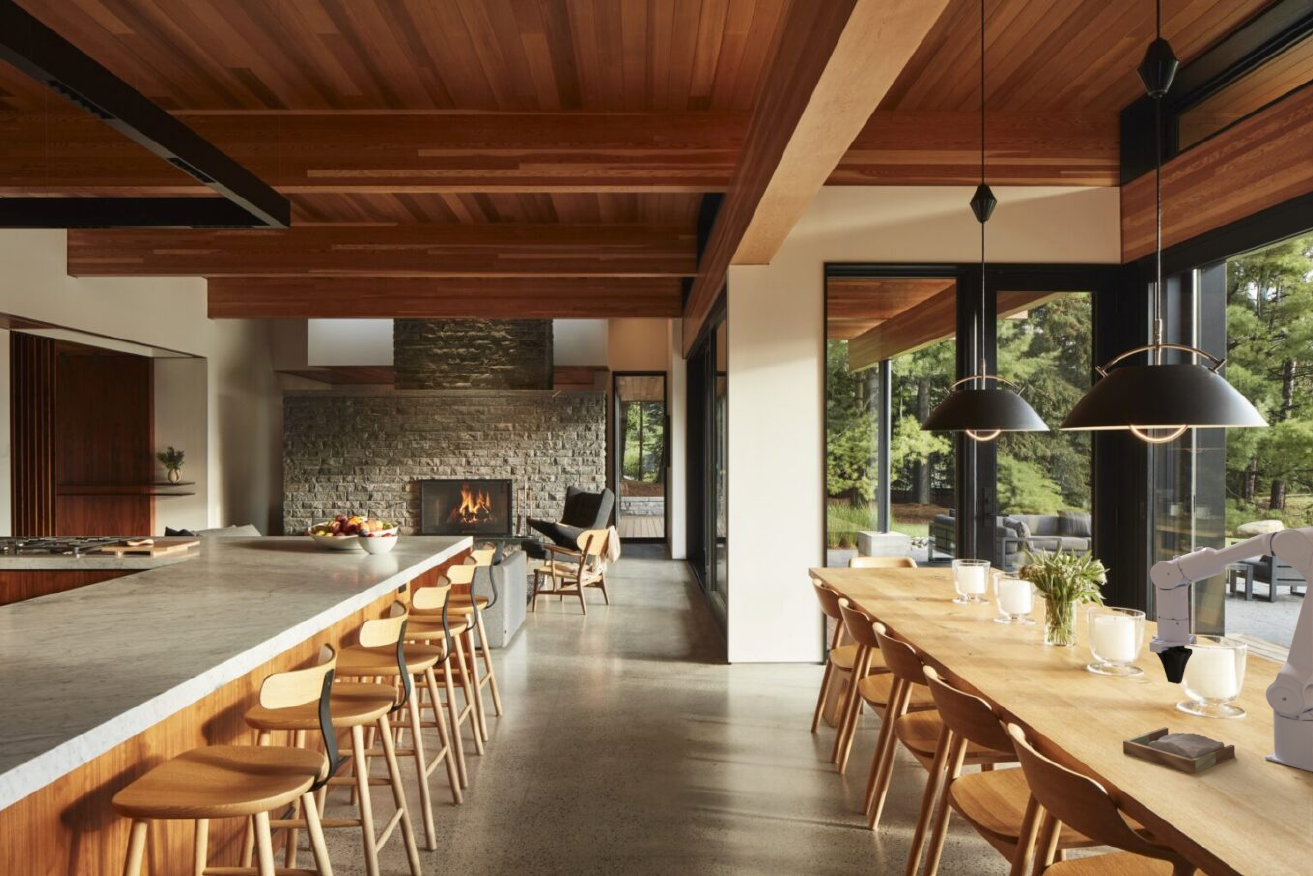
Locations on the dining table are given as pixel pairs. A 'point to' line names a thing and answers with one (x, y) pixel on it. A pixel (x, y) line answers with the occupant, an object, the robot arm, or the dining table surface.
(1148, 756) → the guide slot
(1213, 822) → the dining table surface
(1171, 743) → the stone block
